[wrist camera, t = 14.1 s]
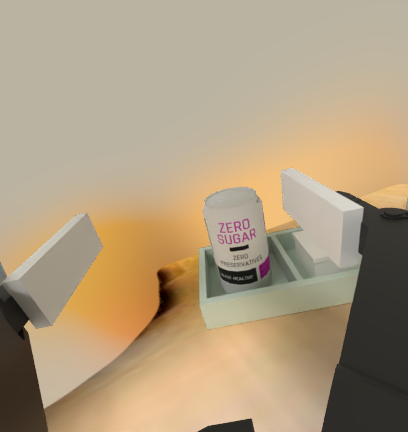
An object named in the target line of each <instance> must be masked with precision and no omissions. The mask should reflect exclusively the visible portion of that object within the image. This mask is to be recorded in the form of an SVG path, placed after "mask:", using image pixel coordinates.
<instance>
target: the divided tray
mask: <svg viewBox="0 0 408 432" xmlns="http://www.w3.org/2000/svg"><path fill="white" fill-rule="evenodd" d="M299 231H303V229H302V228H301V227H297V228H292V229H287V230H283V231H278V232H273V233H269V234H266V237H267V244H268V251H269V259H270V266H271V274H272V282H271V283H270V285H269V286H268V287H263V288H258V289H253V290H248V291H242V292H237V293H232V294H229V293H227V292H225V290H224V289H223V288H222V286H221V283H220V279H219V275H218V271H217V267H216V263H215V259H214V255H213V251H212V247H211V246H208V247H203V248H199V306H200V309H201V312H202V315H203V318H204V322H205V325H206V328H207V330H208V329H213V328H218V327H224V326H229V325H234V324H240V323H245V322H250V321H256V320H261V319H267V318H272V317H277V316H283V315H288V314H293V313H299V312H304V311H310V310H315V309H320V308H326V307H331V306H336V305H342V304H347V303H352V302H353V297H354V292H355V288H356V283H357V279H358V274H359V269H354V270H349V271H344V272H339V273H334V274H329V275H324V276H319V277H314V278H311V277H310V276H309V274H308V273H307V272H306V270H305V269H304V267H303V266H302V264H301V263H300V262H299V260H298V259H297V257H296V246H295V240H294V238H293V237H292V233H294V232H299Z"/></svg>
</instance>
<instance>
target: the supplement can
mask: <svg viewBox="0 0 408 432" xmlns="http://www.w3.org/2000/svg"><path fill="white" fill-rule="evenodd" d="M203 216H204V220H205V223H206V227H207V231H208V235H209V239H210V243H211V247H212V251H213V255H214V259H215V263H216V267H217V271H218V275H219V279H220V283H221V286H222V288H223V289H224V290H225V292H227V293H229V294H232V293H237V292H242V291H248V290H253V289H258V288H263V287H268V286H269V285H270V283H271V282H272V274H271V266H270V259H269V251H268V244H267V237H266V229H265V223H264V215H263V207H262V201H261V200H260V198H259V197H258V196H257V195H256V191H255V190H254V189H252V188H248V187H235V188H228V189H224V190H221V191H218V192H215V193H213V194H211V195H210V196H208V197H207V198H206V199H205V205H204V208H203Z"/></svg>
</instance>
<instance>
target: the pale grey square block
mask: <svg viewBox="0 0 408 432" xmlns="http://www.w3.org/2000/svg"><path fill="white" fill-rule="evenodd" d="M292 237H293V238H294V240H295V246H296V257H297V259H298V260H299V262H300V263H301V264H302V266H303V267H304V269H305V270H306V272H307V273H308V274H309V276H310V277H311V278H314V277H319V276H324V275H329V274H334V273H339V272H344V271H349V270H354V269H360V265H361V260H362V255H361V254H360V253H359V257H358V265H354V266H349V267H344V268H339V267H338V266H337V265H336V264H335V263H334V262H333V260H332V259H331V258H330V257H329V256H328V255H327V254H326V253H325V252H324V251H323V250H322V249H321V248H320V247H319V246H318V245H317V244H316V243H315V242H314V241H313V239H312V238H311V237H310V236H309V235H308V234H307V233H306V232H305V231H304V230H303V231H299V232H294V233H292Z"/></svg>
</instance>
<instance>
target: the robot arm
mask: <svg viewBox="0 0 408 432" xmlns="http://www.w3.org/2000/svg"><path fill="white" fill-rule="evenodd" d="M281 181H282V198H283V209H284V210H285V211H286V212H287V213H288V214H289V215H290V216H291V217H292V218H293V219H294V221H295V222H296V223H297V224H298V225H299V226H300V227H301V228H302V229H303V230H304V231H305V232H306V233H307V234H308V235H309V236H310V237H311V238H312V239H313V241H314V242H315V243H316V244H317V245H318V246H319V247H320V248H321V249H322V250H323V251H324V252H325V253H326V254H327V255H328V256H329V257H330V258H331V259H332V260H333V262H334V263H335V264H336V265H337V266H338V267H339V268H344V267H349V266H354V265H358V257H359V253H360V254H361V255H362V260H361V265H360V269H359V274H358V279H357V283H356V288H355V292H354V297H353V302H352V306H351V311H350V316H349V320H348V325H347V330H346V334H345V339H344V343H343V348H342V353H341V357H340V361H339V364H337V366H336V369H335V374H334V378H333V382H332V386H331V391H330V395H329V400H328V404H327V409H326V413H325V418H324V422H323V427H322V431H321V432H408V211H407V210H403V209H398V208H381V209H378V208H376V207H374V206H372V205H370V204H368V203H367V202H365V201H362V200H361V199H359V198H356V197H355V196H353V195H351V194H349V193H345V192H340V191H336V192H335V191H333V190H331V189H330V188H328V187H326V186H324V185H322V184H320V183H318V182H317V181H315V180H313V179H311V178H310V177H308V176H306V175H304V174H302V173H301V172H299V171H297V170H295V169H293V168H291V169H285V170H281ZM102 247H103V245H102V243H101V241H100V239H99V237H98V235H97V233H96V230H95V229H94V226H93V224H92V222H91V220H90V218H89V216H88V214H87V213H84V214H79V215H76V216H75V217H73V219H71V220H70V221H69V222H68V223H67V224H66V225H65V226H64V227H62V228H61V229H60V230H59V231H58V232H57V233H56V234H55V235H54V236H53V237H51V238H50V239H49V240H48V241H47V242H46V243H45V244H44V245H43V246H41V247H40V248H39V249H38V250H37V251H36V252H35V253H34V254H33V255H31V256H30V257H29V258H28V259H27V260H26V261H25V262H24V263H23V264H21V265H20V266H19V267H18V268H17V269H16V270H15V271H14V272H13V273H11V275H9V276H8V277H7V275H6V273H5V271H4V269H3V267H2V265H1V263H0V432H48V428H47V423H46V418H45V413H44V408H43V403H42V399H41V393H40V389H39V384H38V379H37V374H36V369H35V365H34V359H33V354H32V350H31V345H30V339H29V334H28V332H27V331H26V329H25V328H24V325H25V324H26V323H27V321H28V320H30V321H31V323H32V324H33V325H34V326H35V328H36V329H37V328H42V327H47V326H52V325H53V323H54V322H55V320H56V319H57V317H58V316H59V314H60V312H61V311H62V309H63V308H64V306H65V305H66V303H67V302H68V300H69V299H70V297H71V296H72V294H73V292H74V291H75V289H76V288H77V286H78V285H79V283H80V281H81V280H82V279H83V277H84V276H85V274H86V272H87V271H88V269H89V268H90V266H91V265H92V263H93V262H94V260H95V259H96V257H97V255H98V254H99V252H100V251H101V249H102ZM198 432H255V431H254V427H253V423H252V418H251V419H246V420H240V421H234V422H229V423H223V424H217V425H211V426H207V427H205V428H204V429H202V430H200V431H198Z"/></svg>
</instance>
